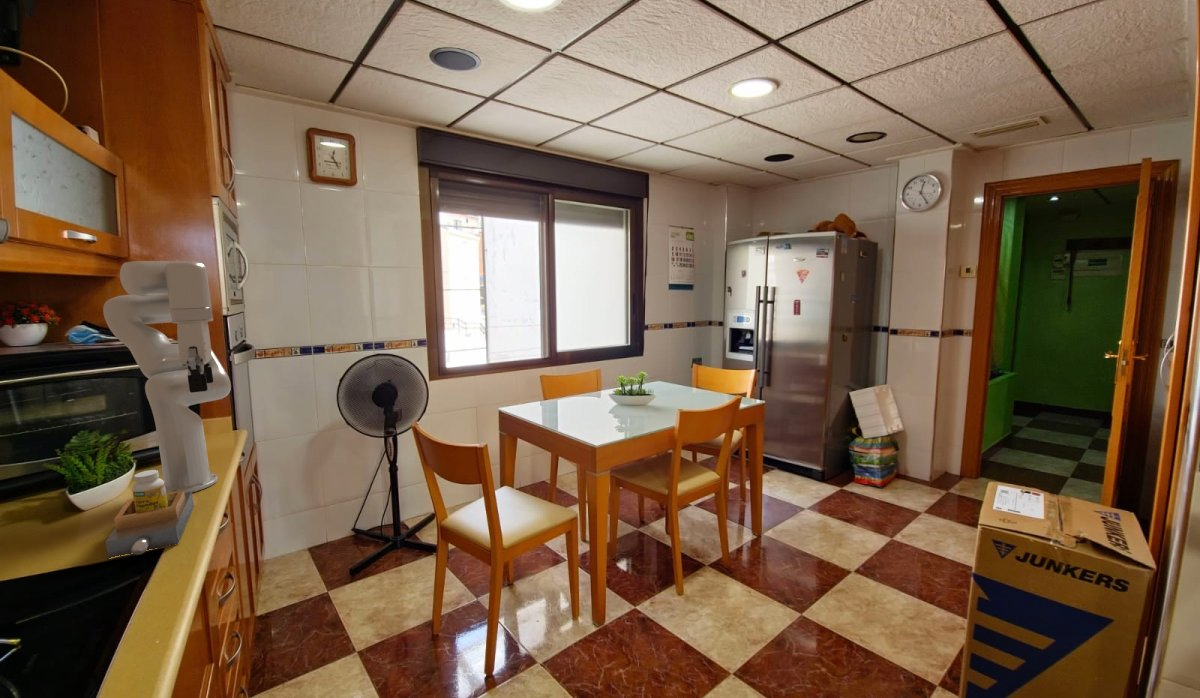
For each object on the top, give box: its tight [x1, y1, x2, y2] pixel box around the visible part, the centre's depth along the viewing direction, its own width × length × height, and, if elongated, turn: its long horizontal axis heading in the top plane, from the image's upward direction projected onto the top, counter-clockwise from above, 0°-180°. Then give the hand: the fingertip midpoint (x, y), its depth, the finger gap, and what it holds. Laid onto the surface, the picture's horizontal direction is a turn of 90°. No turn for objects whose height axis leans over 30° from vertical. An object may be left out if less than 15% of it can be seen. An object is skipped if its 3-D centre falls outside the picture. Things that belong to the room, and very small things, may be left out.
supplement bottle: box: [131, 469, 168, 513], centre depth 111 cm, size 5×5×10 cm
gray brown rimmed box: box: [105, 490, 195, 558], centre depth 111 cm, size 23×11×6 cm, turn 31°
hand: (202, 387), depth 119 cm, fingers open, 9 cm apart
